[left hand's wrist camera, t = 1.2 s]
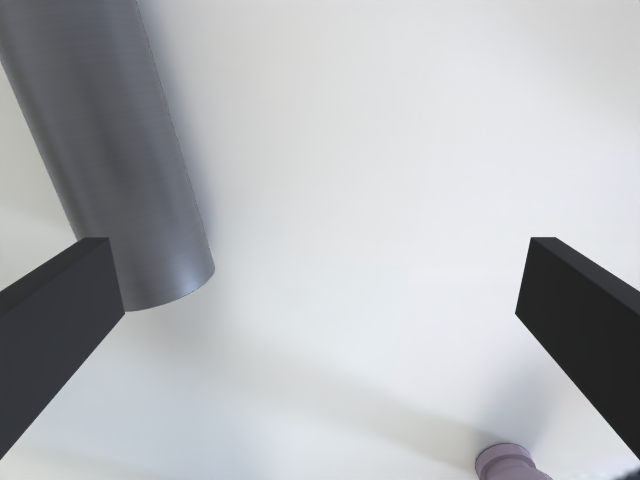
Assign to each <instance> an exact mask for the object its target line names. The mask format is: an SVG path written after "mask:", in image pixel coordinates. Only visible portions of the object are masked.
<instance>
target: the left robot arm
mask: <svg viewBox="0 0 640 480" xmlns="http://www.w3.org/2000/svg"><path fill="white" fill-rule="evenodd" d="M124 314H125V311H124V307H123V302H122V297H121V292H120V287H119V283H118V278H117V273H116V268H115V264H114V259H113V254H112V249H111V244H110V240H109V237H84V238H83V239H81V240H79V241H78V242H76V243H75V244H73V245H72V246H70V247H69V248H67V249H66V250H64V251H62V252H61V253H59V254H58V255H56V256H55V257H53V258H52V259H50V260H49V261H47V262H45V263H44V264H42V265H41V266H39V267H38V268H36V269H35V270H33V271H32V272H30V273H28V274H27V275H25V276H24V277H22V278H21V279H19V280H18V281H16V282H15V283H13V284H11V285H10V286H8V287H7V288H5V289H4V290H2V291H1V292H0V460H1V459H2V458H3V456H4V455H5V454H6V453H7V452H8V450H9V449H10V448H11V447H12V446H13V445H14V443H15V442H16V441H17V440H18V439H19V438H20V436H21V435H22V434H23V433H24V432H25V431H26V429H27V428H28V427H29V426H30V425H31V424H32V422H33V421H34V420H35V419H36V418H37V416H38V415H39V414H40V413H41V412H42V411H43V409H44V408H45V407H46V406H47V405H48V404H49V402H50V401H51V400H52V399H53V398H54V397H55V395H56V394H57V393H58V392H59V391H60V389H61V388H62V387H63V386H64V385H65V384H66V382H67V381H68V380H69V379H70V378H71V377H72V375H73V374H74V373H75V372H76V371H77V370H78V368H79V367H80V366H81V365H82V364H83V362H84V361H85V360H86V359H87V358H88V357H89V355H90V354H91V353H92V352H93V351H94V350H95V348H96V347H97V346H98V345H99V344H100V343H101V341H102V340H103V339H104V338H105V337H106V335H107V334H108V333H109V332H110V331H111V330H112V328H113V327H114V326H115V325H116V324H117V323H118V321H119V320H120V319H121V318H122V317H123V316H124ZM515 314H516V316H517V317H518V318H519V319H520V320H521V321H522V323H523V324H524V325H525V326H526V327H527V328H528V330H529V331H530V332H531V333H532V334H533V335H534V337H535V338H536V339H537V340H538V341H539V343H540V344H541V345H542V346H543V347H544V348H545V350H546V351H547V352H548V353H549V354H550V355H551V357H552V358H553V359H554V360H555V361H556V362H557V364H558V365H559V366H560V367H561V368H562V370H563V371H564V372H565V373H566V374H567V375H568V377H569V378H570V379H571V380H572V381H573V382H574V384H575V385H576V386H577V387H578V388H579V389H580V391H581V392H582V393H583V394H584V395H585V397H586V398H587V399H588V400H589V401H590V402H591V404H592V405H593V406H594V407H595V408H596V409H597V411H598V412H599V413H600V414H601V415H602V416H603V418H604V419H605V420H606V421H607V422H608V424H609V425H610V426H611V427H612V428H613V429H614V431H615V432H616V433H617V434H618V435H619V436H620V438H621V439H622V440H623V441H624V442H625V443H626V445H627V446H628V447H629V448H630V449H631V450H632V452H633V453H634V454H635V455H636V456H637V458H638V459H639V460H640V292H639V291H638V290H636V289H635V288H633V287H632V286H630V285H629V284H627V283H625V282H624V281H622V280H621V279H619V278H618V277H616V276H615V275H613V274H612V273H610V272H608V271H607V270H605V269H604V268H602V267H601V266H599V265H598V264H596V263H595V262H593V261H591V260H590V259H588V258H587V257H585V256H584V255H582V254H581V253H579V252H578V251H576V250H574V249H573V248H571V247H570V246H568V245H567V244H565V243H564V242H562V241H561V240H559V239H557V238H556V237H531V240H530V244H529V249H528V254H527V259H526V264H525V268H524V273H523V278H522V283H521V287H520V292H519V297H518V302H517V307H516V311H515Z"/></svg>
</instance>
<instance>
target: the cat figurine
mask: <svg viewBox="0 0 640 480" xmlns="http://www.w3.org/2000/svg"><path fill="white" fill-rule="evenodd" d="M475 469H476V472H477V474H478V477H479V479H480V480H553V479H552V478H551V477H549V476H548V475H547V474H545V473H543V472H541V471H539V470H538V469H536V467H535V464H534V462H533V460H532V458H531V456H530V455H529V453H528V452H527V451H526V450H525V449H524V448H522V447H521V446H519V445H514V444H500V445H496V446H493V447H491V448H489V449H487V450H485V451H484V452H483V453H482V454H481V455H480V456H479V457H478V459H477V461H476V465H475Z"/></svg>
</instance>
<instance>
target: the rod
mask: <svg viewBox="0 0 640 480" xmlns="http://www.w3.org/2000/svg"><path fill="white" fill-rule="evenodd" d="M0 61H1V63H2V66H3V68H4V70H5V73H6V75H7V77H8V80H9V82H10V84H11V87H12V89H13V92H14V94H15V96H16V99H17V101H18V103H19V106H20V108H21V110H22V113H23V115H24V117H25V120H26V122H27V124H28V127H29V129H30V131H31V134H32V136H33V138H34V141H35V143H36V145H37V148H38V150H39V152H40V155H41V157H42V159H43V162H44V164H45V166H46V169H47V171H48V173H49V176H50V178H51V180H52V183H53V185H54V188H55V190H56V192H57V195H58V197H59V199H60V202H61V204H62V206H63V209H64V211H65V213H66V216H67V218H68V220H69V223H70V225H71V227H72V230H73V232H74V234H75V237H76V239H77V241H79V240H81V239H83V238H84V237H109V240H110V244H111V249H112V254H113V259H114V264H115V268H116V273H117V278H118V283H119V287H120V292H121V297H122V302H123V307H124V311H125V312H128V311H139V310H144V309H149V308H153V307H157V306H160V305H163V304H166V303H169V302H172V301H174V300H177V299H179V298H181V297H183V296H186V295H187V294H189V293H191V292H193V291H195V290H196V289H198V288H199V287H201V286H202V285H203V284H205V283H206V282H207V281H208V280H209V279H210V278H211V276H212V275H213V273H214V270H215V266H214V262H213V259H212V255H211V252H210V249H209V245H208V242H207V239H206V235H205V232H204V228H203V225H202V222H201V218H200V215H199V212H198V208H197V205H196V202H195V198H194V195H193V191H192V188H191V185H190V181H189V178H188V175H187V171H186V168H185V164H184V161H183V158H182V154H181V151H180V148H179V144H178V141H177V138H176V134H175V131H174V127H173V124H172V121H171V117H170V114H169V111H168V107H167V104H166V100H165V97H164V94H163V90H162V87H161V84H160V80H159V77H158V73H157V70H156V67H155V63H154V60H153V57H152V53H151V50H150V47H149V43H148V40H147V36H146V33H145V30H144V26H143V23H142V20H141V16H140V13H139V9H138V6H137V3H136V0H0Z"/></svg>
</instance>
